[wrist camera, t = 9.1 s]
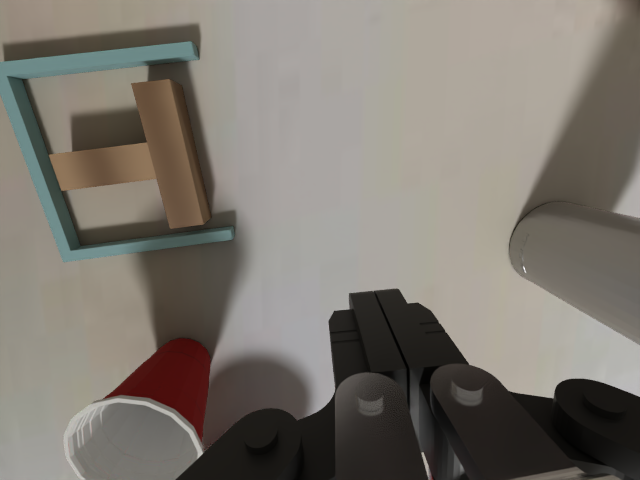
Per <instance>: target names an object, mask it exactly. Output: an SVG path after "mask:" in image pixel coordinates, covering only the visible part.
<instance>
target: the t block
mask: <svg viewBox="0 0 640 480" xmlns="http://www.w3.org/2000/svg"><path fill="white" fill-rule="evenodd" d="M131 85H132V88H133V92H134V96H135V100H136V103H137V107H138V111H139V115H140V118H141V122H142V126H143V130H144V133H145V137H146V141H147V143H139V144H131V145H123V146H115V147H107V148H98V149H90V150H82V151H74V152H66V153H58V154H50V155H49V157H50V160H51V163H52V165H53V168H54V171H55V174H56V177H57V179H58V182H59V185H60V188H61V191H65V190H73V189H80V188H88V187H96V186H104V185H112V184H119V183H127V182H135V181H143V180H150V179H157V182H158V186H159V189H160V193H161V197H162V201H163V204H164V208H165V212H166V216H167V219H168V223H169V227H170V229H173V228H180V227H188V226H195V225H203V224H205V223H206V222H207V221H208V220H209V219H210V218H211V212H210V208H209V204H208V199H207V195H206V190H205V186H204V181H203V177H202V173H201V168H200V164H199V159H198V155H197V150H196V146H195V141H194V137H193V133H192V128H191V124H190V119H189V115H188V110H187V106H186V102H185V97H184V93H183V88H182V85H180V84H178V83H176V82H174V81H172V80H170V79H165V80H157V81H148V82H139V83H131Z"/></svg>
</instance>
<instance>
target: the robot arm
mask: <svg viewBox="0 0 640 480" xmlns="http://www.w3.org/2000/svg"><path fill="white" fill-rule="evenodd" d="M509 252H510V259H511V263H512V265H513V267H514V269H515V270H516V271H517V272H518V273H519V274H520V275H521V276H522V277H524V278H526V279H528V280H529V281H531V282H533V283H534V284H536V285H538V286H539V287H541V288H543V289H544V290H546V291H548V292H549V293H551V294H553V295H554V296H556V297H558V298H560V299H561V300H563V301H565V302H566V303H568V304H570V305H572V306H573V307H575V308H577V309H578V310H580V311H582V312H584V313H585V314H587V315H589V316H590V317H592V318H594V319H596V320H597V321H599V322H601V323H602V324H604V325H606V326H608V327H609V328H611V329H613V330H614V331H616V332H618V333H620V334H621V335H623V336H625V337H627V338H628V339H630V340H632V341H633V342H635V343H637V344H639V345H640V218H637V217H632V216H628V215H623V214H618V213H614V212H609V211H604V210H601V209H596V208H591V207H587V206H582V205H577V204H573V203H568V202H550V203H547V204H544V205H541V206H539V207H538V208H536V209H534V210H532V211H531V212H530V213H529V214H527V215H526V216H525V217H524V218H523V219H522V221H521V222H520V223H519V224H518V226H517V227H516V229H515V231H514V233H513V236H512V238H511V242H510V248H509ZM349 305H350V309H349V310H339V311H334V313H333V314H332V316H331V318H330V320H329V331H330V342H331V352H332V363H333V372H334V381H335V393H334V395H333V397H332V399H331V400H330V402H329V403H328V404H327V405H326V406H325V407H324V408H323V409H321V410H320V411H318V412H317V413H314V414H312V415H310V416H308V417H305V418H303V419H300V420H298V421H297V420H296V419H295V418H294V417H293V416H292V415H291V414H289V413H288V412H286V411H283V410H280V409H272V408H270V409H262V410H258V411H255V412H252V413H250V414H248V415H246V416H245V417H243V418H242V419H240V420H239V421H238V422H237V423H236V424H234V425H233V426H232V427H231V428H230V429H229V430H228V431H227V432H226V433H225V434H224V435H223V436H222V437H220V438H219V439H218V440H217V441H216V442H215V443H214V444H213V445H212V446H211V447H210V448H209V449H208V450H207V451H205V452H204V453H203V454H202V455H201V456H200V457H199V458H198V459H197V460H196V461H195V462H194V463H193V464H192V465H190V466H189V467H188V468H187V469H186V470H185V471H184V472H183V473H182V474H181V475H180V476H179V477H178V478H177V479H175V480H640V397H638V396H636V395H633V394H631V393H628V392H626V391H623V390H621V389H618V388H616V387H613V386H610V385H607V384H605V383H601V382H598V381H593V380H588V379H568V380H565V381H562V382H561V383H559V384H558V385H557V386H556V389H555V393H554V399H553V398H546V397H539V396H532V395H525V394H519V393H514V392H510V391H508V390H507V389H506V388H505V387H504V386H503V385H502V383H501V382H500V381H499V380H498V379H497V378H496V377H494V376H493V375H492V374H490V373H488V372H487V371H485V370H483V369H480V368H478V367H475V366H471V365H469V363H468V362H467V361H466V359H465V358H464V356H463V355H462V354H461V352H460V351H459V349H458V348H457V347H456V345H455V344H454V342H453V341H452V340H451V338H450V337H449V335H448V334H447V333H445V330H444V328H443V327H442V326H441V324H439V321H438V320H437V319H436V317H435V316H434V314H433V313H432V312H431V311H430V310H429V309H427V308H426V307H424V306H422V305H421V304H419V303H409V304H407V302H406V300H405V299H404V297H403V295H402V294H401V292H400V290H399V289H387V290H377V291H374V292H373V291H368V292H358V293H349ZM421 452H424V455H425V457H426V460H427V463H428V465H429V475H428V476H427V472H426V469H425V465H424V461H423V458H422V454H421Z"/></svg>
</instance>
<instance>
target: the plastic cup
mask: <svg viewBox="0 0 640 480" xmlns="http://www.w3.org/2000/svg"><path fill="white" fill-rule="evenodd" d="M210 363H211V361H210V356H209V354H208V351H207V349H206V348H205V347H204V346H202V345H201V344H200V343H199V342H196V341H194V340H192V339H185V338H179V339H175V340H171V341H169V342H168V343H166V344H165V345H163V346H162V347H161V348H159V349H158V350H157V351H156V352H155V353H154V354H153V355H152V356H151V357H150V358H149V359H148V360H146V361H145V362H144V363H143V364H142V365H141V366H140V367H138V368H137V369H136V370H135V371H134V372H133V373H132V374H131V375H130V376H129V377H128V378H127V379H126V380H125V381H123V382H122V383H121V384H120V385H119V386H118V387H117V388H116V389H115V390H114V391H113V392H111V393H110V394H109V395H107V396H106V397H105V398H103V399H101V400H97V401H94V402H93V403H91V404H90V405H89V406H87V407H86V408H84V409H83V410H82V411H80V412H79V413H78V414H76V415H75V416H73V417H72V418H71V420H70V423H69V425H68V427H67V429H66V431H65V434H64V436H63V440H64V449H65V457H66V459H67V460H68V462H69V464H70V465H71V467H72V468H73V470H74V471H75V473H76V475H77V476H78V477H79V478H80V479H81V480H175V479H177V478H178V477H179V476H180V475H181V474H182V473H183V472H184V471H185V470H186V469H187V468H188V467H189V466H190V465H192V464H193V463H194V462H195V461H196V460H197V459H198V458H199V457H200V456H201V455H202V454H203V445H202V437H203V423H204V416H205V409H206V402H207V395H208V388H209V374H210Z"/></svg>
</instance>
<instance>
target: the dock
mask: <svg viewBox="0 0 640 480" xmlns="http://www.w3.org/2000/svg"><path fill="white" fill-rule="evenodd" d="M191 60H199V56H198V51H197V46H196V45H195V44H194V43H193V42H192V41H189V42H180V43H171V44H162V45H152V46H143V47H134V48H125V49H116V50H106V51H97V52H88V53H79V54H70V55H60V56H51V57H42V58H33V59H24V60H14V61H5V62H0V95H1V98H2V100H3V103H4V106H5V108H6V111H7V114H8V116H9V119H10V122H11V124H12V127H13V130H14V132H15V135H16V138H17V140H18V143H19V146H20V148H21V151H22V153H23V156H24V159H25V161H26V164H27V167H28V169H29V172H30V175H31V177H32V180H33V183H34V185H35V188H36V191H37V193H38V196H39V199H40V201H41V204H42V207H43V209H44V212H45V215H46V217H47V220H48V223H49V225H50V228H51V231H52V233H53V236H54V239H55V241H56V244H57V247H58V249H59V252H60V255H61V257H62V260H63V262H69V261H76V260H84V259H91V258H99V257H106V256H114V255H121V254H129V253H136V252H144V251H151V250H159V249H166V248H174V247H181V246H189V245H196V244H204V243H211V242H219V241H226V240H232V239H233V238H234V236H235V233H234V228H233V226H229V227H221V228H214V229H206V230H199V231H191V232H184V233H176V234H168V235H161V236H153V237H146V238H138V239H130V240H123V241H115V242H108V243H100V244H93V245H85V246H80V243H79V240H78V237H77V234H76V232H75V229H74V226H73V223H72V220H71V217H70V215H69V212H68V209H67V206H66V203H65V200H64V198H63V195H62V192H61V189H60V186H59V183H58V181H57V178H56V175H55V172H54V169H53V167H52V164H51V161H50V158H49V155H48V152H47V150H46V147H45V144H44V141H43V138H42V135H41V133H40V130H39V127H38V124H37V121H36V118H35V116H34V113H33V110H32V107H31V104H30V101H29V99H28V96H27V93H26V90H25V87H24V84H23V82H22V79H29V78H38V77H47V76H56V75H65V74H74V73H83V72H92V71H101V70H110V69H119V68H128V67H137V66H146V65H155V64H164V63H173V62H182V61H191Z"/></svg>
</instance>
